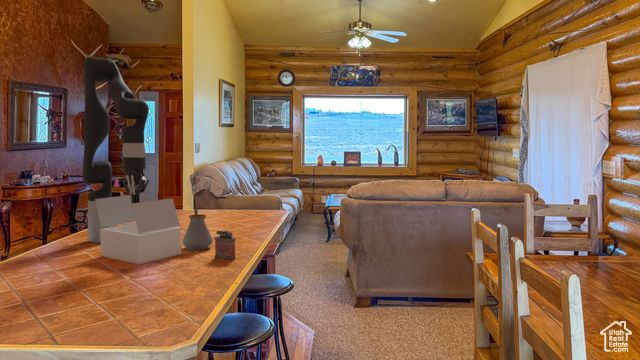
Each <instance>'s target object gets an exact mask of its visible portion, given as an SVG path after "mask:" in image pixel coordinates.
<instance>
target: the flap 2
mask: <svg viewBox="0 0 640 360" xmlns="http://www.w3.org/2000/svg"><path fill="white" fill-rule="evenodd" d="M132 208H133V212H134V216H135V220H136V222H135V223H137V227H138V231H139V233H145V232H150V231H155V230H160V229H166V228H171V227H180V221H179V217H178V213H177V208H176V205H175V202H174V198H173V197H172V198H165V199H164V198H163V199H157V200H151V201H150V200H148V201H143V202H142V201H140V203H132Z"/></svg>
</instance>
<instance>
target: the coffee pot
mask: <svg viewBox="0 0 640 360" xmlns="http://www.w3.org/2000/svg"><path fill="white" fill-rule="evenodd" d="M192 209H193V210H194V214H190V215H189V216H188V218H189V220H190V222H189V224H188V227H187V229H186V230H185V231H186V232H185V234H184V236H183V238H182V245H183V246H184V247H185V248H187V249H188V250H190V251H202V250H206V249H208V248H209V247H210V246H211V245H212V243H213V241H214V240H213V237H212V235H211V233H210V231H209V230H210V229H208V226H207V224H206V221H205V219H206V217H207V215H206V214H198V211H199V210H198V209H199V206H198V205H196V204H195V205H194V206H192Z"/></svg>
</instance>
